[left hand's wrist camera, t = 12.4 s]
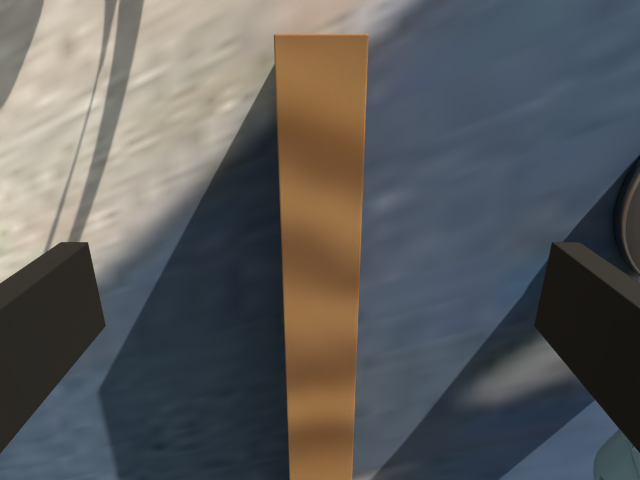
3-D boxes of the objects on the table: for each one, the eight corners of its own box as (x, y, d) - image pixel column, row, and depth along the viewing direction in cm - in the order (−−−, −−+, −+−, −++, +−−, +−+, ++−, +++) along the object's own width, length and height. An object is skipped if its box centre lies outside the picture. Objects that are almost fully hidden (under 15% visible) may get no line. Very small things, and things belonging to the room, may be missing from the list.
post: (285, 42, 31) (273, 34, 23) (356, 42, 31) (368, 34, 23) (301, 645, 58) (298, 736, 50) (339, 645, 58) (342, 736, 50)
